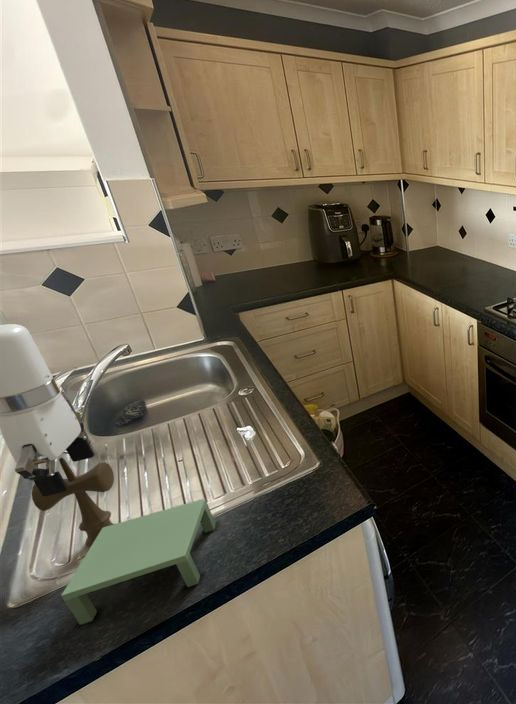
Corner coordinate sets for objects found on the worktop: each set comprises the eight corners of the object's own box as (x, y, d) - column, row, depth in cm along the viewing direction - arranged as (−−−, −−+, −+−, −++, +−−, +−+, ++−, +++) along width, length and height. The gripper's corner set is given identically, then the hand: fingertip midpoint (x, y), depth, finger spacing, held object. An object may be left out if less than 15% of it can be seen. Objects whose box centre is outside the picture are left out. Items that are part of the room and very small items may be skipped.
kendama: (79, 537, 82) (32, 457, 74) (139, 517, 86) (101, 440, 78) (65, 560, 77) (14, 477, 69) (131, 538, 81) (88, 458, 73)
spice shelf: (79, 625, 65) (60, 595, 63) (117, 554, 77) (102, 527, 75) (198, 583, 71) (184, 555, 69) (215, 524, 83) (205, 498, 81)
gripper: (28, 378, 75) (69, 453, 81) (-44, 430, 60) (13, 516, 67) (80, 369, 78) (116, 442, 84) (24, 416, 63) (72, 500, 69)
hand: (71, 474), depth 75 cm, fingers open, 9 cm apart
